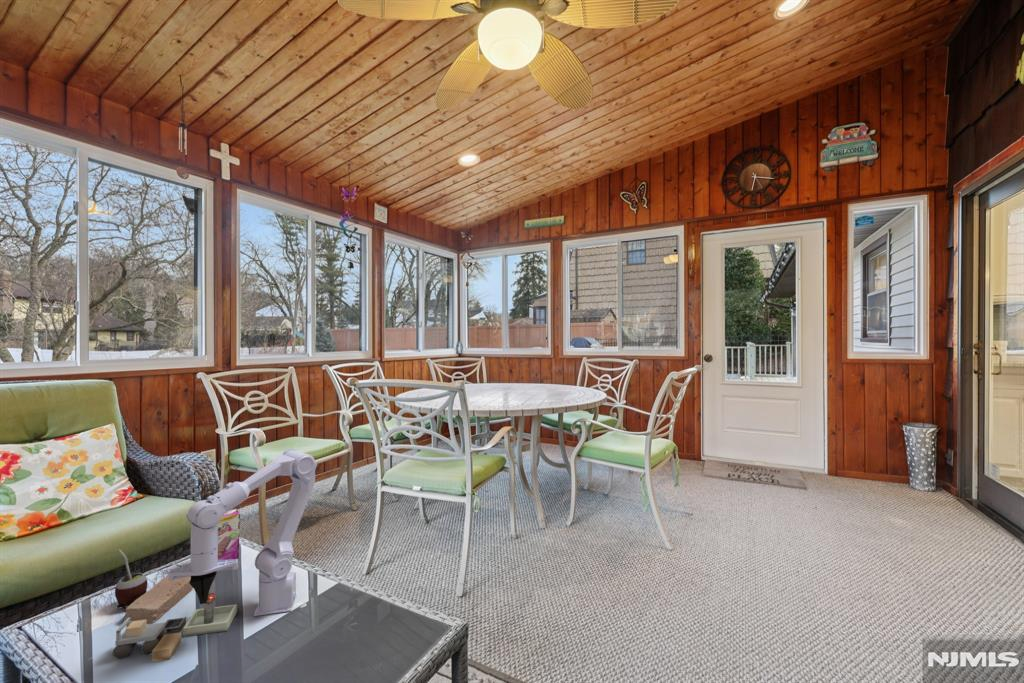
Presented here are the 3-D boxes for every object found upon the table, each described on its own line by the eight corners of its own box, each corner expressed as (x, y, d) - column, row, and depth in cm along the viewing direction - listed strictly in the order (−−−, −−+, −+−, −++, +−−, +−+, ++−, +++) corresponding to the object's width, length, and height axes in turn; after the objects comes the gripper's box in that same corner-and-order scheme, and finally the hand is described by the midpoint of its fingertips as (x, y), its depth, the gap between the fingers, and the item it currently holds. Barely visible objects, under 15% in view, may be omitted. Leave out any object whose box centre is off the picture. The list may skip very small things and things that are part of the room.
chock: (180, 643, 112) (181, 632, 112) (169, 660, 107) (169, 648, 107) (164, 645, 111) (164, 634, 111) (151, 662, 106) (152, 651, 106)
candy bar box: (201, 571, 144) (201, 521, 144) (197, 565, 148) (197, 517, 147) (240, 559, 152) (240, 512, 152) (235, 554, 156) (236, 508, 156)
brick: (154, 625, 119) (154, 607, 119) (122, 625, 119) (122, 607, 118) (195, 589, 136) (195, 574, 135) (167, 589, 135) (167, 574, 135)
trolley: (167, 638, 113) (167, 612, 113) (157, 653, 108) (157, 625, 108) (125, 644, 111) (125, 617, 111) (112, 659, 106) (112, 631, 106)
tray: (236, 611, 125) (237, 604, 125) (227, 630, 117) (227, 622, 117) (195, 617, 122) (195, 609, 122) (183, 636, 114) (183, 628, 114)
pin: (217, 617, 121) (217, 592, 121) (213, 624, 118) (213, 598, 118) (204, 619, 120) (204, 593, 120) (200, 626, 118) (200, 600, 117)
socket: (186, 623, 119) (186, 617, 119) (179, 634, 115) (179, 627, 115) (167, 626, 118) (167, 619, 118) (160, 636, 114) (160, 630, 114)
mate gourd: (141, 610, 125) (141, 557, 124) (105, 615, 122) (106, 561, 121) (151, 595, 131) (152, 545, 131) (118, 600, 129) (118, 549, 128)
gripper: (239, 537, 120) (239, 586, 120) (173, 547, 113) (173, 599, 114) (235, 549, 113) (235, 601, 113) (165, 560, 107) (165, 615, 107)
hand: (203, 601), depth 113 cm, fingers closed
